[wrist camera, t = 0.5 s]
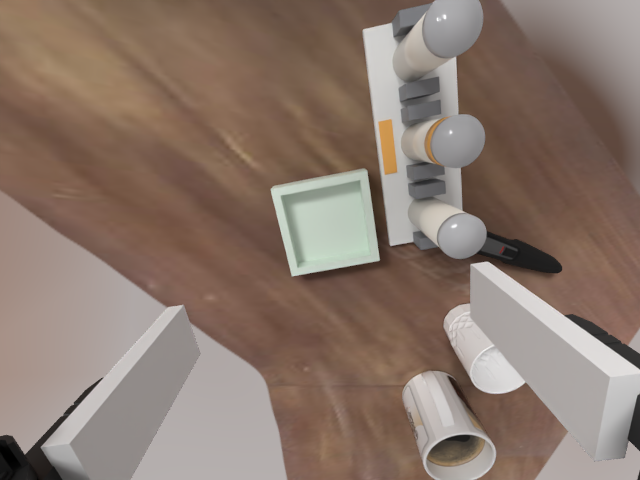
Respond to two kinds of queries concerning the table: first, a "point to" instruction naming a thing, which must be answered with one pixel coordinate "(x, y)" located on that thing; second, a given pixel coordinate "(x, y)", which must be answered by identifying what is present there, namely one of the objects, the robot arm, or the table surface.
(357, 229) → the tray
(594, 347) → the robot arm
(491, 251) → the electric trimmer
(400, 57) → the cream grey cylinder
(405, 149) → the marked fuse
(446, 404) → the mug
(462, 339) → the white cup
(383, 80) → the board
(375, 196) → the table surface
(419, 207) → the fuse
